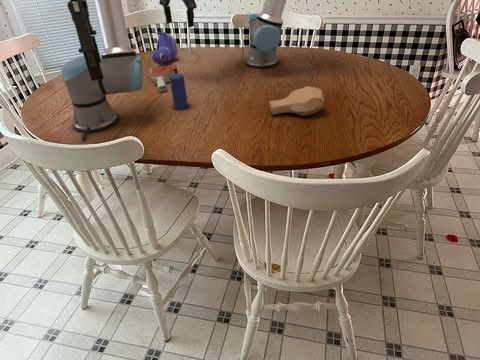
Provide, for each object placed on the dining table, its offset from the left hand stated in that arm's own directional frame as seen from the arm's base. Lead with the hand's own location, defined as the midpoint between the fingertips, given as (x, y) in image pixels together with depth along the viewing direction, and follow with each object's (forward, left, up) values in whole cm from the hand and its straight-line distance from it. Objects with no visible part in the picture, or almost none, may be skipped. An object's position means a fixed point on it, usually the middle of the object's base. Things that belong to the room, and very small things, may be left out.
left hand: (97, 70), depth 88 cm
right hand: (+76, -8, -7) cm, 77 cm away
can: (+45, -10, -30) cm, 55 cm away
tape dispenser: (+71, +2, -30) cm, 78 cm away
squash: (+34, -54, -30) cm, 71 cm away
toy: (+99, +6, -30) cm, 104 cm away
